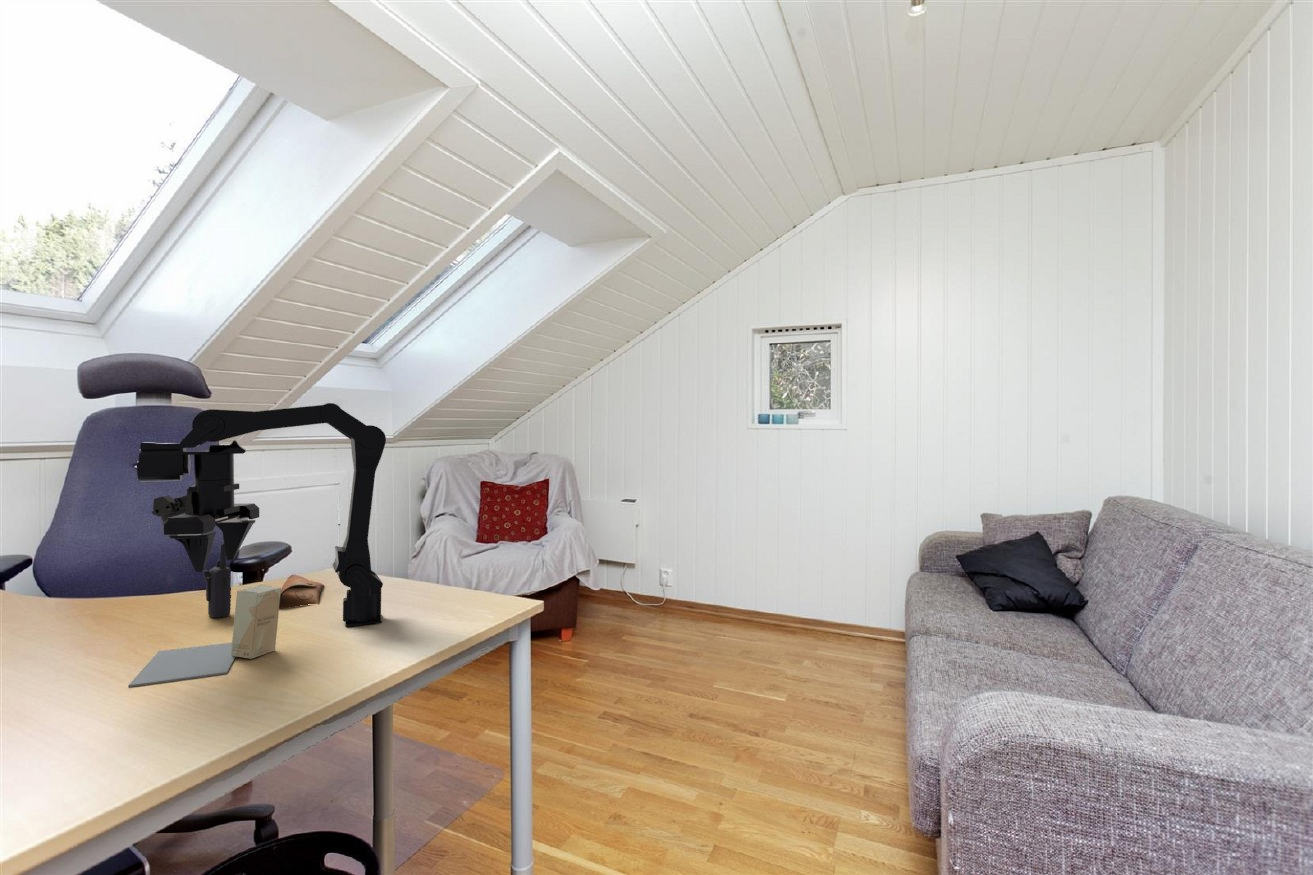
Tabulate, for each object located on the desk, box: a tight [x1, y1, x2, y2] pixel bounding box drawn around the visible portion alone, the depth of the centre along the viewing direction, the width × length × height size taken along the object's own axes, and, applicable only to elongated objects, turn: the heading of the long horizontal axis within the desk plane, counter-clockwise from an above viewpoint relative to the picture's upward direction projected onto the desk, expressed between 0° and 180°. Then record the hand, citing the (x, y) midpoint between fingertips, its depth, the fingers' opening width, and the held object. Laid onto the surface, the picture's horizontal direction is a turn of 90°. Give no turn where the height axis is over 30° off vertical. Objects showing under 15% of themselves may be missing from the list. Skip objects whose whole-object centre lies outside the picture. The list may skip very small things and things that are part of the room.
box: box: [231, 584, 282, 659], centre depth 101 cm, size 5×4×11 cm
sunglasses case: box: [279, 574, 325, 610], centre depth 136 cm, size 18×7×7 cm, turn 27°
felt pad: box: [127, 641, 237, 688], centre depth 97 cm, size 12×15×1 cm
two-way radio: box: [202, 542, 232, 619], centre depth 121 cm, size 6×4×15 cm
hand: (215, 565), depth 106 cm, fingers open, 9 cm apart
